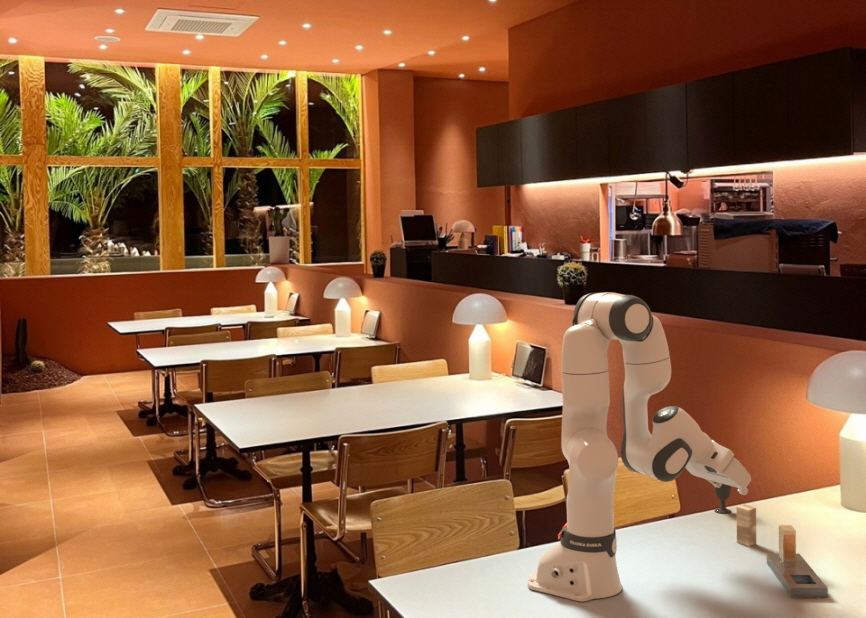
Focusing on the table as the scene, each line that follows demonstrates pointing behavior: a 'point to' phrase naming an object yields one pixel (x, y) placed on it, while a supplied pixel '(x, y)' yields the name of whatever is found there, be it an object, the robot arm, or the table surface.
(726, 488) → the sundae
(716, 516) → the table surface
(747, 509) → the wooden block
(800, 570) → the gray block holder
